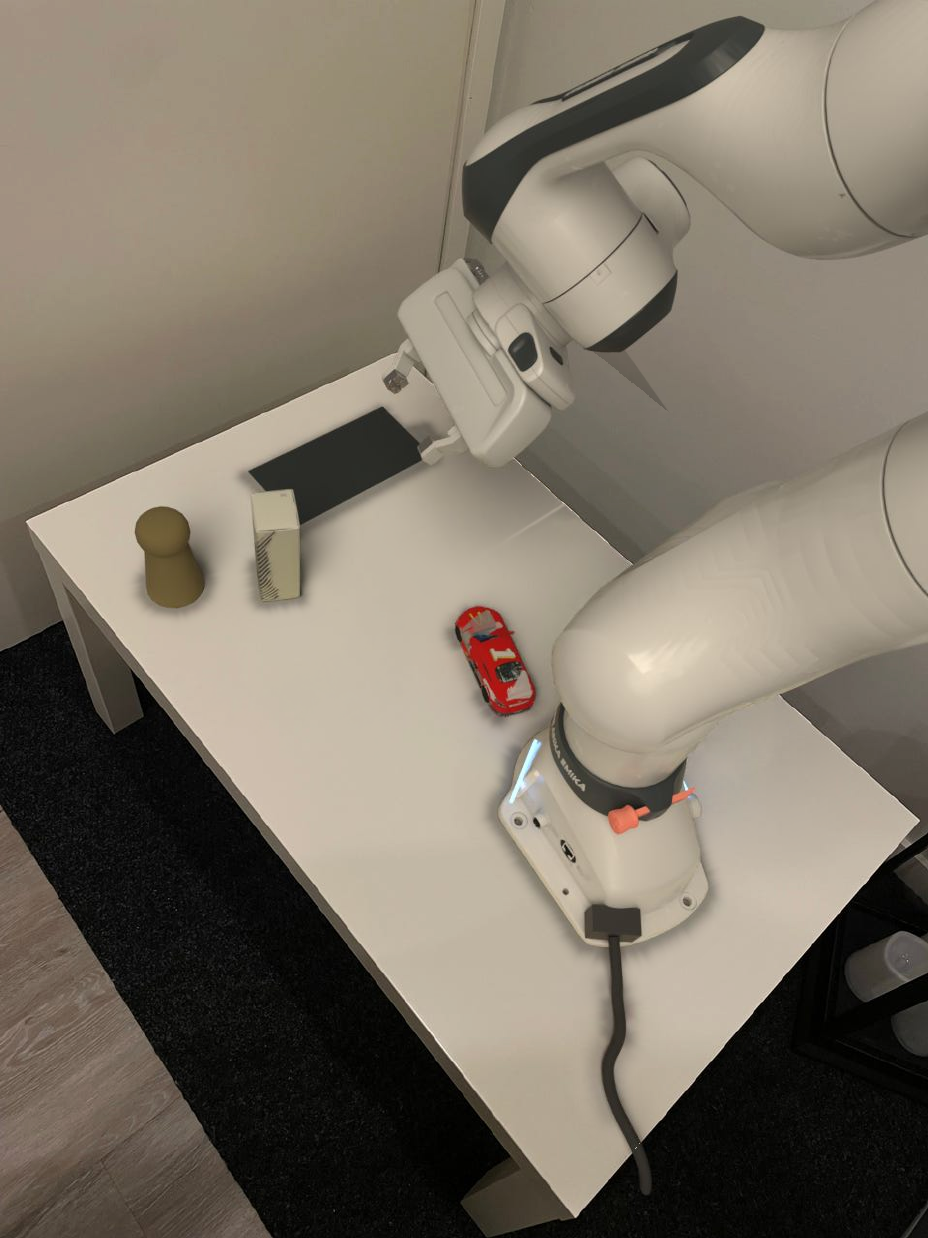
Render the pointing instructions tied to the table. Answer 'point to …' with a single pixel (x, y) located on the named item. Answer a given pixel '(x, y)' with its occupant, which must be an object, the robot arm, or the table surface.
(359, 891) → the table surface
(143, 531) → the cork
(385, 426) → the slate board
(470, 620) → the race car
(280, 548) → the box
